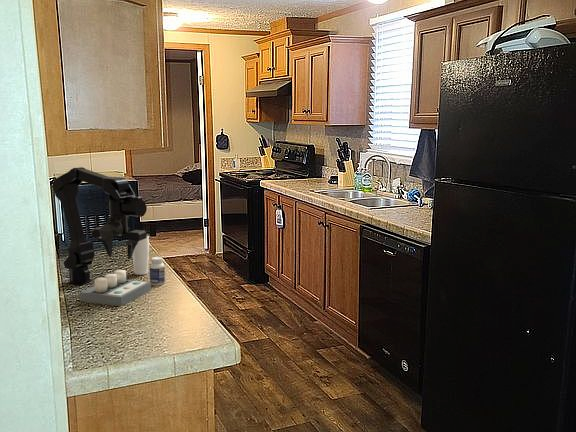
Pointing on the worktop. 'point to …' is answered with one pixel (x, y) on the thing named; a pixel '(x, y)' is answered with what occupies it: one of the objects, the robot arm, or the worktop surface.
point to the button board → (116, 293)
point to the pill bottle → (157, 271)
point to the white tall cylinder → (141, 257)
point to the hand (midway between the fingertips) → (119, 257)
